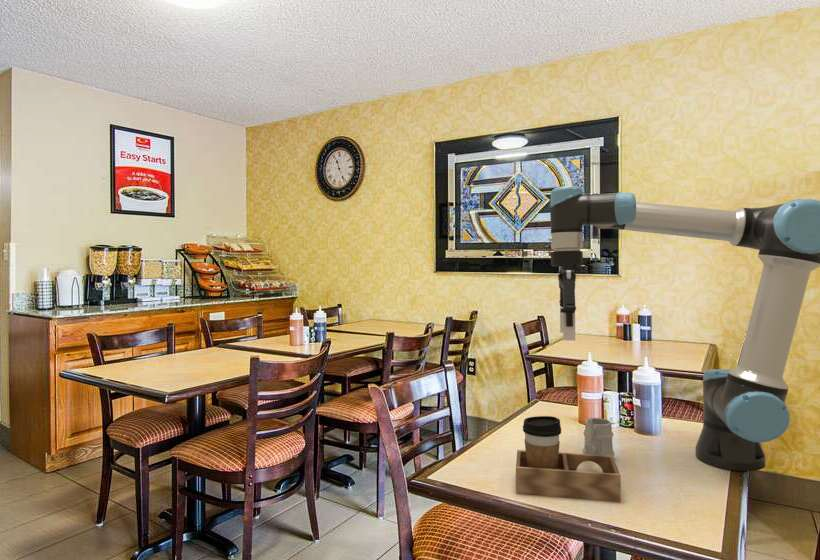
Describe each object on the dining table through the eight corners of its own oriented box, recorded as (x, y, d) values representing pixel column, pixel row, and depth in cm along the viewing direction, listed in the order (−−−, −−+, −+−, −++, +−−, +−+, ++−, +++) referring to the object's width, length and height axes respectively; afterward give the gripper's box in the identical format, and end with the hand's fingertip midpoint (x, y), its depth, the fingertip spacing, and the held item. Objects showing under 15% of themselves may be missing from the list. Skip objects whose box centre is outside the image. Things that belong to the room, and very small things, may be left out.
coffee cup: (563, 494, 113) (562, 425, 112) (523, 491, 115) (522, 424, 114) (560, 478, 121) (559, 414, 121) (523, 476, 123) (522, 413, 122)
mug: (618, 457, 135) (618, 411, 135) (603, 472, 126) (602, 423, 126) (589, 451, 140) (588, 407, 140) (572, 465, 131) (572, 418, 130)
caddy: (612, 483, 120) (612, 455, 119) (620, 506, 109) (620, 475, 108) (517, 476, 124) (517, 449, 124) (516, 497, 114) (515, 467, 113)
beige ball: (602, 484, 118) (602, 457, 117) (606, 495, 112) (605, 468, 112) (574, 482, 119) (574, 456, 119) (576, 493, 113) (576, 466, 113)
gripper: (549, 251, 141) (550, 329, 142) (552, 249, 117) (553, 343, 118) (578, 250, 139) (578, 329, 140) (587, 248, 115) (588, 344, 116)
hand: (567, 336), depth 129 cm, fingers open, 13 cm apart
